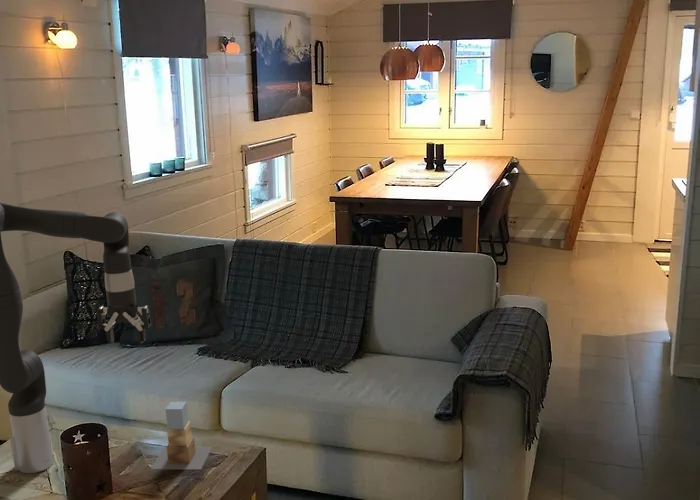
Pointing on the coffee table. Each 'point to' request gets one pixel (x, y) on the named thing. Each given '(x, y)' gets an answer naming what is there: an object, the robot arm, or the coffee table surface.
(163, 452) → the felt mat
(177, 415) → the light grey box block
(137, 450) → the coffee table surface
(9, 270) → the robot arm
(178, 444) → the oak top block
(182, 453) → the walnut base block
